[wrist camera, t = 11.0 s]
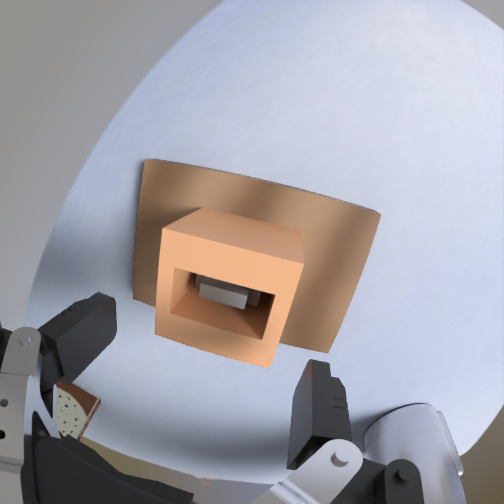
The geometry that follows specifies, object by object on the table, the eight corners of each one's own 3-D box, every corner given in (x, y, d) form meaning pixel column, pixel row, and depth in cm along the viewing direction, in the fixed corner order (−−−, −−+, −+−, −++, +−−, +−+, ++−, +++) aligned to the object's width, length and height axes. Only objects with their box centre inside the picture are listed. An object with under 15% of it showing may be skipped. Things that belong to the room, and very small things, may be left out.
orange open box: (300, 231, 17) (304, 264, 12) (277, 312, 19) (269, 368, 14) (203, 207, 18) (162, 228, 12) (190, 288, 20) (154, 333, 14)
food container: (52, 386, 32) (19, 422, 22) (45, 361, 30) (6, 399, 20) (112, 424, 31) (83, 469, 22) (109, 402, 29) (73, 453, 20)
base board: (374, 210, 17) (411, 233, 11) (326, 342, 21) (333, 400, 15) (155, 158, 19) (100, 160, 12) (141, 290, 22) (98, 330, 16)
